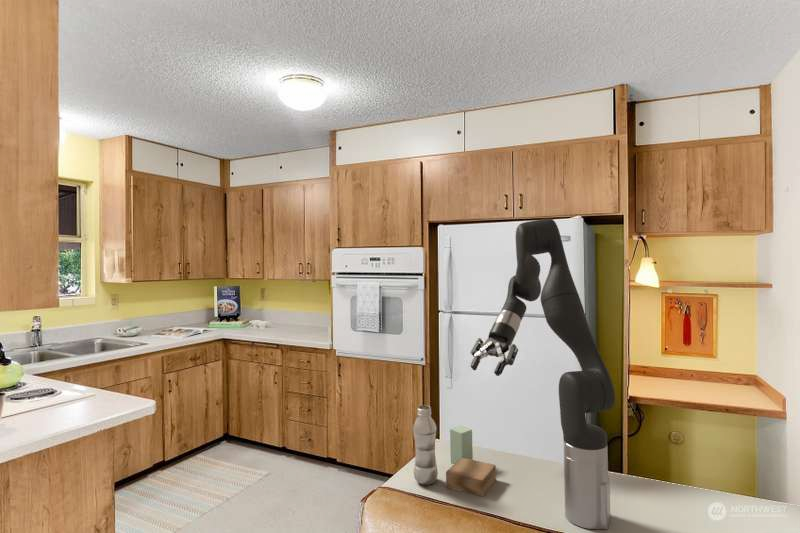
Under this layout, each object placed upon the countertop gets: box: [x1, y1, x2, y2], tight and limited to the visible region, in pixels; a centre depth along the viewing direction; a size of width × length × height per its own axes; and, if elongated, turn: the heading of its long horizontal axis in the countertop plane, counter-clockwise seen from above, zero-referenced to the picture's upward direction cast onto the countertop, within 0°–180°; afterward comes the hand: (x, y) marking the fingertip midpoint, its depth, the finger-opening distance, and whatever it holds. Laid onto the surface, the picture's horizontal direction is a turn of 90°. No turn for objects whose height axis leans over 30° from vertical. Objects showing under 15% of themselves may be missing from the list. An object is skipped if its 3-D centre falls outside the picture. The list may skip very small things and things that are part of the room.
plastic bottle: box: [412, 405, 439, 485], centre depth 121 cm, size 6×7×20 cm
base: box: [445, 458, 497, 497], centre depth 119 cm, size 10×10×4 cm
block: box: [449, 425, 474, 465], centre depth 132 cm, size 4×4×10 cm
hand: (484, 371), depth 136 cm, fingers open, 8 cm apart
